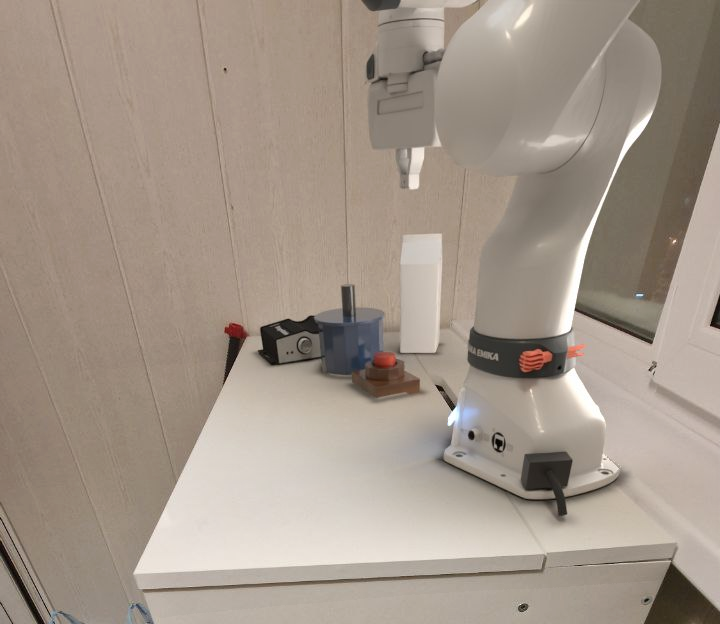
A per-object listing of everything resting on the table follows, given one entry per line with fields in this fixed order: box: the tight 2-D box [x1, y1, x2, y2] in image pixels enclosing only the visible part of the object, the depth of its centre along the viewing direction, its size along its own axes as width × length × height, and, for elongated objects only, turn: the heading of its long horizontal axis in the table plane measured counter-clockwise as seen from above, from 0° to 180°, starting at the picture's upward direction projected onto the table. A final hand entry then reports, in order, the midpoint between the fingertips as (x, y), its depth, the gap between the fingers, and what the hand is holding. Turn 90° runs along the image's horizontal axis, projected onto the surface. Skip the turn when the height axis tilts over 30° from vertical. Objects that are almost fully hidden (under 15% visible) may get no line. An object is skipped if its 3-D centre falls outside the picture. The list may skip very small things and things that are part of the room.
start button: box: [374, 351, 397, 367], centre depth 92 cm, size 4×4×2 cm
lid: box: [314, 283, 386, 326], centre depth 98 cm, size 13×13×6 cm
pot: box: [318, 318, 385, 376], centre depth 102 cm, size 12×12×8 cm
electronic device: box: [257, 314, 321, 366], centre depth 113 cm, size 13×5×20 cm
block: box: [351, 358, 421, 398], centre depth 93 cm, size 10×8×4 cm
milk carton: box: [399, 233, 444, 354], centre depth 107 cm, size 7×7×19 cm
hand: (409, 189), depth 84 cm, fingers closed
